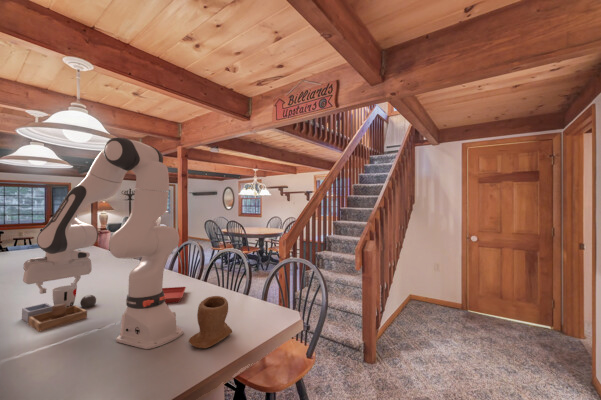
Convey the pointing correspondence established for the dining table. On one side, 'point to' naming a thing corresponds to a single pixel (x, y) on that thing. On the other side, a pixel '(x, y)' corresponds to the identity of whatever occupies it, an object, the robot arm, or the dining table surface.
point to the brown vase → (211, 322)
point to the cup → (64, 295)
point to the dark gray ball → (88, 301)
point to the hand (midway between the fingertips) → (58, 290)
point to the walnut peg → (58, 311)
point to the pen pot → (35, 311)
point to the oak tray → (46, 322)
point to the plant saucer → (173, 294)
